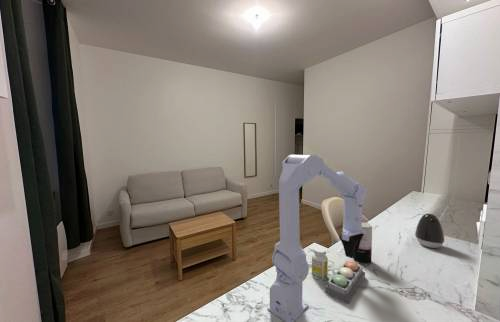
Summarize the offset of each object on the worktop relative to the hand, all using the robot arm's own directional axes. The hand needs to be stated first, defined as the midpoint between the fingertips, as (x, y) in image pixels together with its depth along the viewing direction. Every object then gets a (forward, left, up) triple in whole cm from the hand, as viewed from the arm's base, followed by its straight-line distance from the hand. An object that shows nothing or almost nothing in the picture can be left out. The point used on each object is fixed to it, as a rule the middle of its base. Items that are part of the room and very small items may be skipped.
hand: (351, 253), depth 70 cm
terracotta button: (0, 0, -5) cm, 5 cm away
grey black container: (+14, 0, -9) cm, 17 cm away
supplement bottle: (-7, +8, -9) cm, 14 cm away
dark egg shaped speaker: (+50, -19, -9) cm, 54 cm away
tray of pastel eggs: (-6, 0, -8) cm, 10 cm away
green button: (-11, 0, -5) cm, 12 cm away
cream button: (-6, 0, -5) cm, 8 cm away
